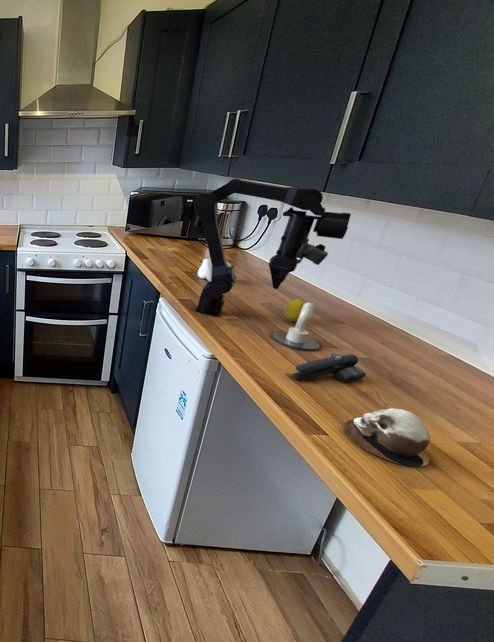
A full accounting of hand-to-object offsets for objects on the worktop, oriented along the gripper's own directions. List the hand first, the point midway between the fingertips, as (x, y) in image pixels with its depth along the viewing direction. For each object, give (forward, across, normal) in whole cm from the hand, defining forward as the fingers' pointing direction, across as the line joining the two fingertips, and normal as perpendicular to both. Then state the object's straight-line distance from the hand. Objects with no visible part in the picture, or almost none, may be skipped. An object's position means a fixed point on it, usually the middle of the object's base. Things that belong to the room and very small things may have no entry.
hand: (278, 285), depth 121 cm
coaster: (+13, -8, -9) cm, 18 cm away
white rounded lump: (+8, +39, +26) cm, 48 cm away
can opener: (+13, -27, -17) cm, 34 cm away
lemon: (+13, +9, -6) cm, 17 cm away
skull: (+13, -49, -28) cm, 58 cm away
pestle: (+12, -8, -9) cm, 17 cm away
